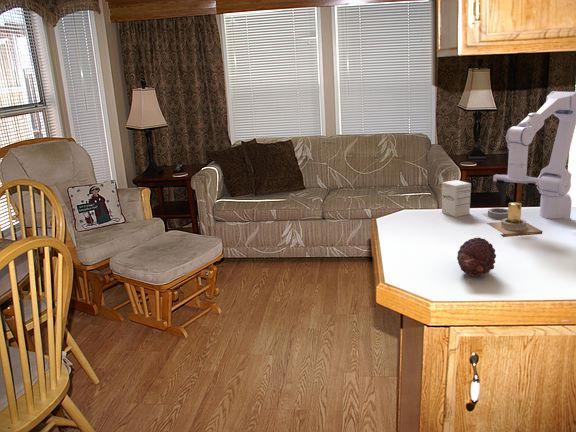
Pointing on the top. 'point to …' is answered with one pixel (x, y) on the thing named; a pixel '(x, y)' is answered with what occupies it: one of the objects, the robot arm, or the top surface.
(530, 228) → the hub board
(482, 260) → the pine cone
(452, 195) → the supplement box
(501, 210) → the spline stand
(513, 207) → the brass peg
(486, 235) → the top surface
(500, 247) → the top surface
